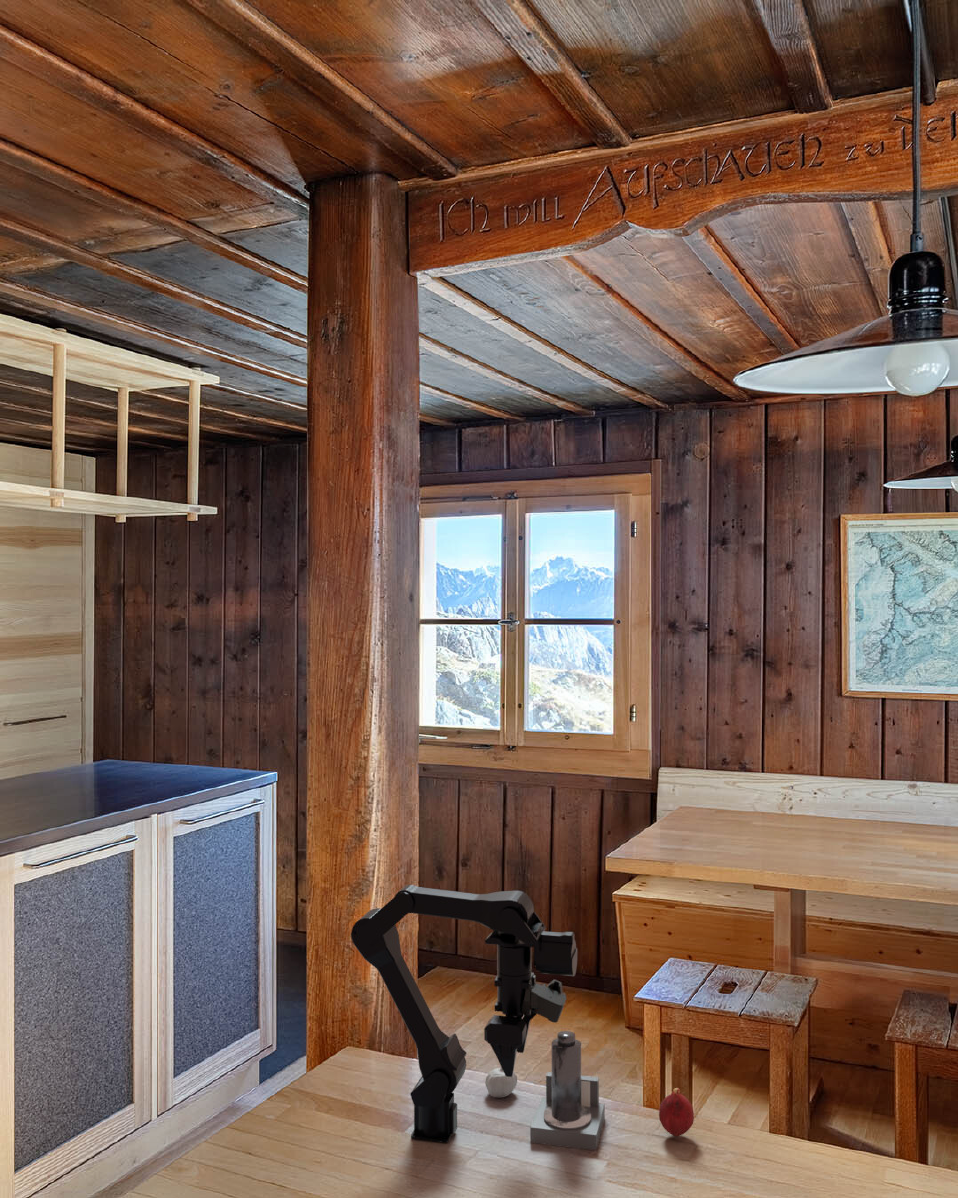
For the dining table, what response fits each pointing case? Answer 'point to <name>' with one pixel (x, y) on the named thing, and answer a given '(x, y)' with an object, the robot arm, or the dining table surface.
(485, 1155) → the dining table surface
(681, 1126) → the onion
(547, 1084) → the scale
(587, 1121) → the scale pan
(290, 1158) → the dining table surface
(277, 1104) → the dining table surface
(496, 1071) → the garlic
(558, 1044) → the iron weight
